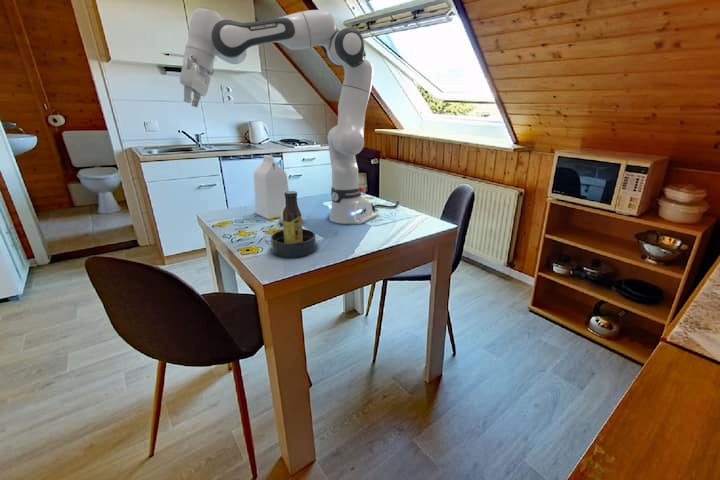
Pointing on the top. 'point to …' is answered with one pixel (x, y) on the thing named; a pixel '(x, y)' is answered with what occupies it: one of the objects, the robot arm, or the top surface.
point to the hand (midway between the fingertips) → (190, 104)
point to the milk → (270, 189)
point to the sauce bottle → (292, 219)
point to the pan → (295, 248)
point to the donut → (282, 219)
